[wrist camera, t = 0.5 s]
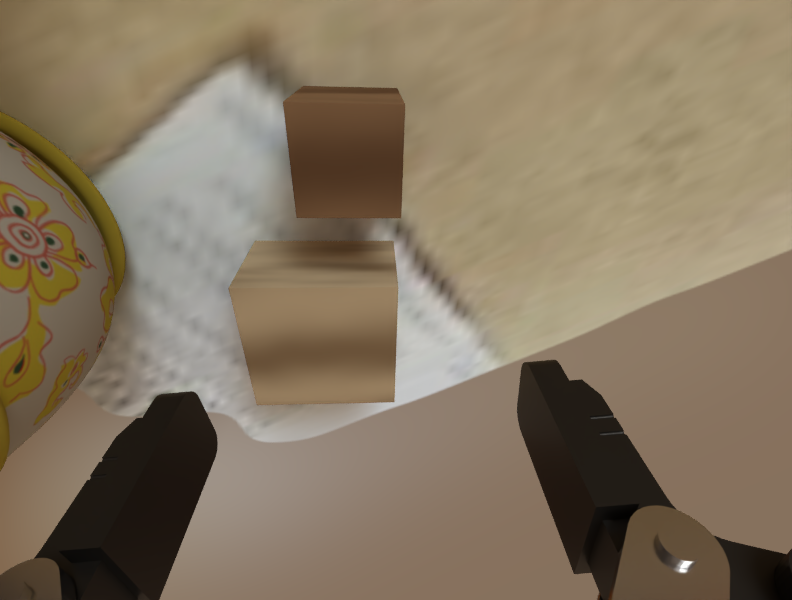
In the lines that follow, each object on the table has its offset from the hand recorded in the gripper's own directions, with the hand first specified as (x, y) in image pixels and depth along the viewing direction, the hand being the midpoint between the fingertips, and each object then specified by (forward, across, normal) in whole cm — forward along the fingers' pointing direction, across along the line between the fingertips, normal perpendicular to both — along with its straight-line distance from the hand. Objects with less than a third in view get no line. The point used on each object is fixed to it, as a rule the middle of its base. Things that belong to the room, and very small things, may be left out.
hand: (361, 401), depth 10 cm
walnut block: (+17, +1, -3) cm, 18 cm away
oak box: (+18, +4, +8) cm, 20 cm away
